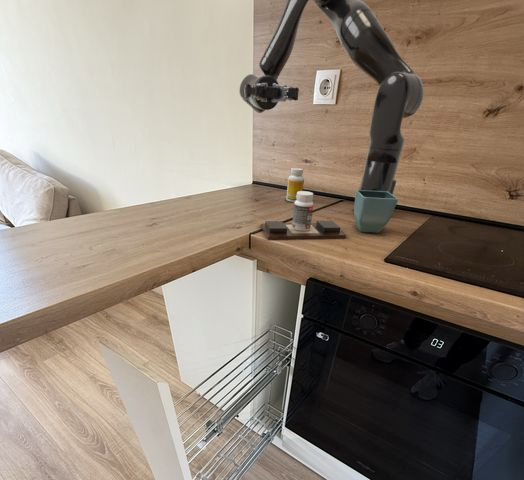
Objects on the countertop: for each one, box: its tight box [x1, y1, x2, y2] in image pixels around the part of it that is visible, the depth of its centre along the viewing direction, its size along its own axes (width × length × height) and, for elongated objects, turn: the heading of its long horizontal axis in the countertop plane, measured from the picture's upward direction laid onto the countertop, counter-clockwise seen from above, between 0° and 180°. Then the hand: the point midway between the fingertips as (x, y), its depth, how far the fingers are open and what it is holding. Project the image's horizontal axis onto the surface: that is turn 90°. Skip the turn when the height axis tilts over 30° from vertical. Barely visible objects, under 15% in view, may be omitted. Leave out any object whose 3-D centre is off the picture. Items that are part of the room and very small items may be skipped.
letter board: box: [260, 220, 347, 240], centre depth 78 cm, size 20×10×2 cm, turn 101°
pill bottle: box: [291, 190, 314, 231], centre depth 76 cm, size 5×5×8 cm
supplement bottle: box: [285, 167, 305, 203], centre depth 102 cm, size 5×5×10 cm
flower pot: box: [353, 189, 399, 234], centre depth 80 cm, size 9×9×9 cm
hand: (276, 92), depth 77 cm, fingers open, 8 cm apart
